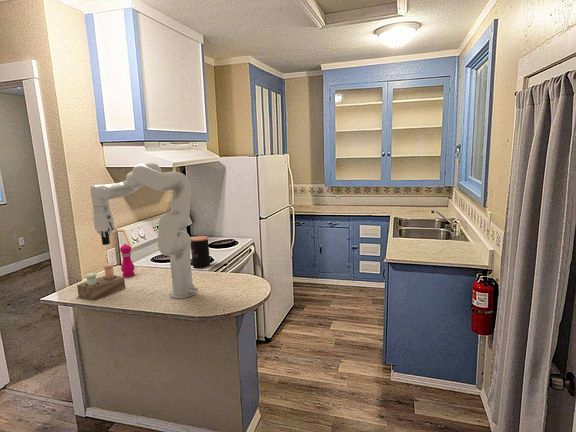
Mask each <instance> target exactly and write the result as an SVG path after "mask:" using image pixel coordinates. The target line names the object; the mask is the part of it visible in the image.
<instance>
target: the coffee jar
mask: <svg viewBox="0 0 576 432" xmlns="http://www.w3.org/2000/svg"><path fill="white" fill-rule="evenodd" d="M190 239H191V248H190V255H191V267H193V268H194V269H205V268H208V267H210V265H211V259H210V257H211V256H210V245H209V240H208V239H209V237H208V236H205V235H198V236H192V237H190Z"/></svg>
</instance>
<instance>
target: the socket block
mask: <svg viewBox="0 0 576 432" xmlns="http://www.w3.org/2000/svg"><path fill="white" fill-rule="evenodd" d="M96 282H97V284H96V285H93V286H88V284H87V281H84V282H82V283H80V284H77V285H76V287H77V294H78V297H79V298H82V297H83V298H82V299H87V300H92V301H95V300H99V299H100V298H103V297H106V296H108V295H111V294H113V292H114V293H115V292H119V291H121V290H124V289H126V281H125V277H123V275H122V276H121V275H120V276H119V275H114V278H113V279H110V280H106V277H105V275H104V276H100V277H98V278H97V277H96ZM123 288H124V289H123ZM118 290H119V291H118ZM105 295H106V296H105Z"/></svg>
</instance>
